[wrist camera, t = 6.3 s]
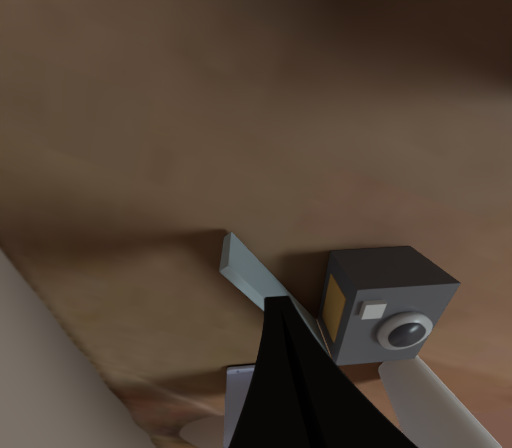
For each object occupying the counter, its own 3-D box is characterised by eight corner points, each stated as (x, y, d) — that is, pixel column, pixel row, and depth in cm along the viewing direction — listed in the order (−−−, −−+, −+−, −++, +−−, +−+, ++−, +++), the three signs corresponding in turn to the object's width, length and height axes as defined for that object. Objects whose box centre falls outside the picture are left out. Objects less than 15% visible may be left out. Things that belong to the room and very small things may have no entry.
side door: (311, 324, 23) (325, 365, 19) (224, 236, 17) (219, 271, 13) (317, 321, 23) (333, 362, 19) (231, 231, 17) (228, 265, 13)
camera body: (316, 319, 24) (337, 374, 18) (329, 250, 19) (361, 297, 14) (382, 315, 24) (420, 366, 19) (410, 246, 19) (470, 290, 14)
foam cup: (355, 375, 30) (424, 531, 19) (398, 340, 27) (517, 506, 15) (398, 385, 33) (483, 528, 21) (444, 355, 29) (575, 506, 18)
